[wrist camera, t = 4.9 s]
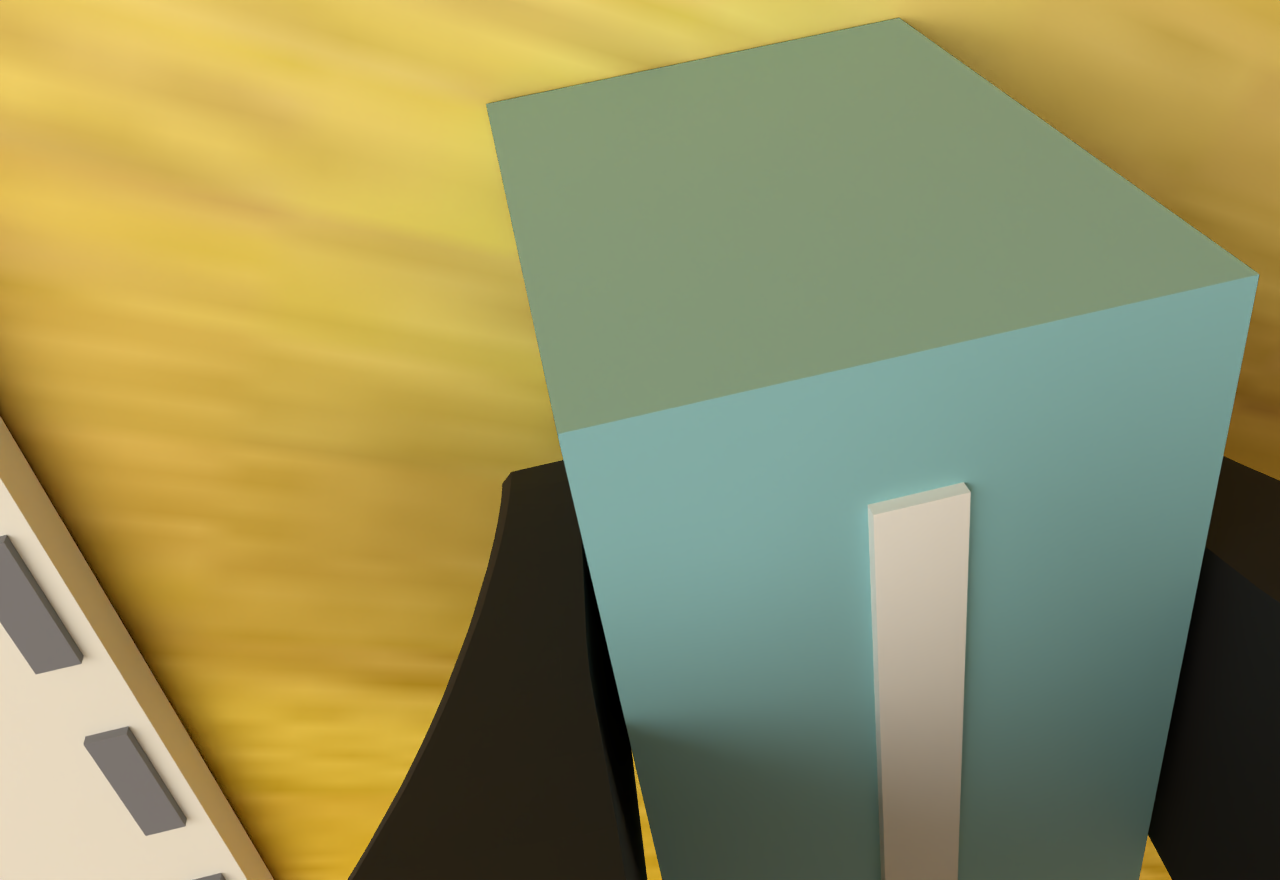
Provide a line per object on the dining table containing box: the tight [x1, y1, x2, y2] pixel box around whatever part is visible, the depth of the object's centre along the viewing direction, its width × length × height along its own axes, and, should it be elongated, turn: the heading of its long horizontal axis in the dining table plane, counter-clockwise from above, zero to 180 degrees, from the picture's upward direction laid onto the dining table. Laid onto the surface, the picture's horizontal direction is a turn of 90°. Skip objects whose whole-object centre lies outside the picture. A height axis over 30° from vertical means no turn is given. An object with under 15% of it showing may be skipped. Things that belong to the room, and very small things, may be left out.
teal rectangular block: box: [486, 18, 1259, 880], centre depth 11 cm, size 4×8×6 cm, turn 9°
